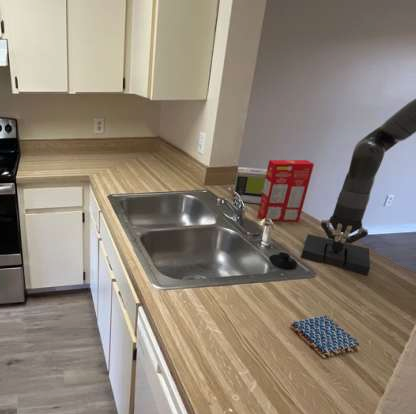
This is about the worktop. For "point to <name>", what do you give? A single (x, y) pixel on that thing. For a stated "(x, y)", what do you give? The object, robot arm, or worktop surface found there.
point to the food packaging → (285, 190)
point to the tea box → (250, 184)
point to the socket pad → (354, 255)
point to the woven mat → (324, 336)
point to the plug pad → (334, 257)
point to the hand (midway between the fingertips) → (336, 251)
